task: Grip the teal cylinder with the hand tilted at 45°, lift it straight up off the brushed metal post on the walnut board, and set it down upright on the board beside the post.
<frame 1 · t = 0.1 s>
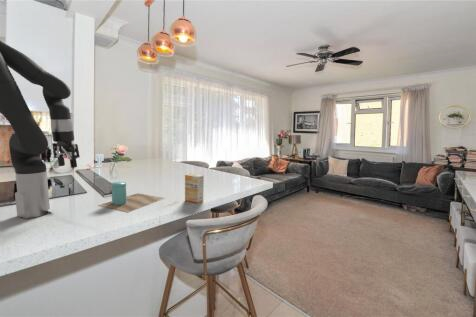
hand: (67, 166, 104), 17 cm above the counter, tool pointing down, fingers open, 8 cm apart
teal cylinder: (119, 202, 105), point 1 cm above the counter, touching post stand
supplement box: (194, 201, 116), on the counter
post stand: (133, 204, 108), on the counter
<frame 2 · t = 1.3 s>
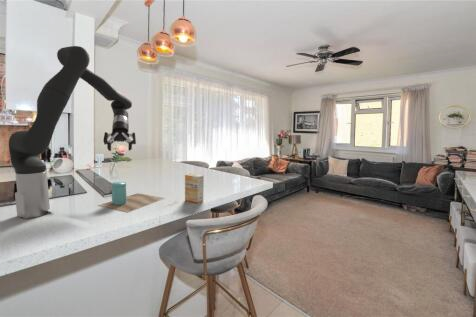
hand: (119, 149, 113), 24 cm above the counter, tool tilted 45°, fingers open, 8 cm apart
nothing on the counter moved.
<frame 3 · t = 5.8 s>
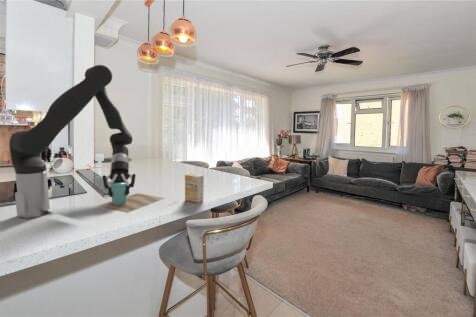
hand: (118, 195, 103), 5 cm above the counter, tool tilted 45°, fingers closed on teal cylinder, 5 cm apart
teal cylinder: (119, 202, 105), point 2 cm above the counter, touching gripper, post stand
everything else where it was.
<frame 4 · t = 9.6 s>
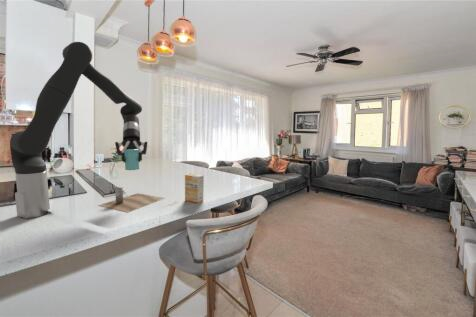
hand: (132, 161, 104), 21 cm above the counter, tool tilted 45°, fingers closed on teal cylinder, 5 cm apart
teal cylinder: (132, 169, 106), point 17 cm above the counter, touching gripper
everything else where it was.
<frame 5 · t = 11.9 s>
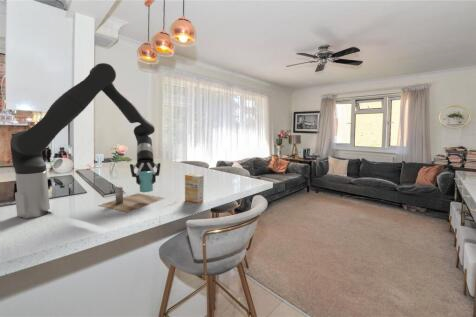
hand: (146, 183, 107), 10 cm above the counter, tool tilted 45°, fingers closed on teal cylinder, 5 cm apart
teal cylinder: (146, 190, 109), point 6 cm above the counter, touching gripper
everything else where it was.
when the fingers open (7 cm above the counter, at t = 13.5 s): teal cylinder drops 1 cm, resting on post stand.
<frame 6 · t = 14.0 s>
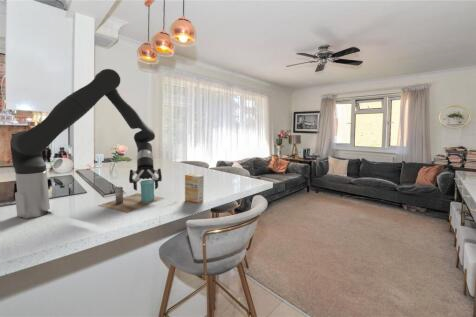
hand: (146, 189, 107), 7 cm above the counter, tool tilted 45°, fingers open, 8 cm apart
teal cylinder: (147, 200, 110), point 1 cm above the counter, touching post stand
everything else where it was.
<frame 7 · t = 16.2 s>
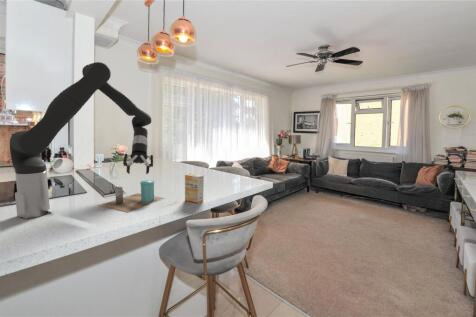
hand: (137, 173, 119), 12 cm above the counter, tool tilted 35°, fingers open, 8 cm apart
nothing on the counter moved.
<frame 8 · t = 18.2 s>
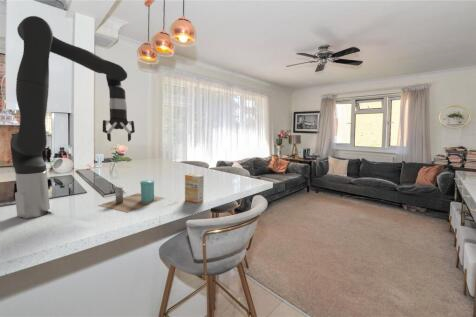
hand: (119, 141, 118), 28 cm above the counter, tool pointing down, fingers open, 8 cm apart
nothing on the counter moved.
at the end: teal cylinder inside the target area (0.6 cm from its centre), point 1.5 cm above the counter; teal cylinder tilted 0°; the gripper is holding nothing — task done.
